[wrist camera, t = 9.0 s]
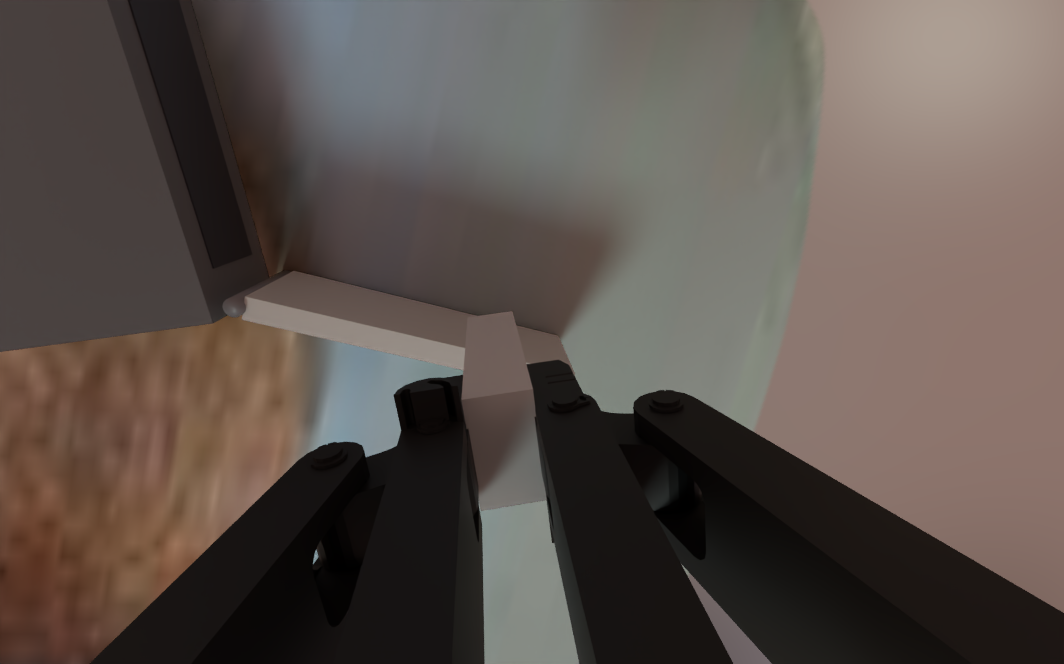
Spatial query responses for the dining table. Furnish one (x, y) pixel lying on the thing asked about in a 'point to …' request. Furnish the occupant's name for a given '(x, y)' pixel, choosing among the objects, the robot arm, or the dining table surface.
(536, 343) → the side door
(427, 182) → the dining table surface
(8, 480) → the dining table surface
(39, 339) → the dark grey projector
